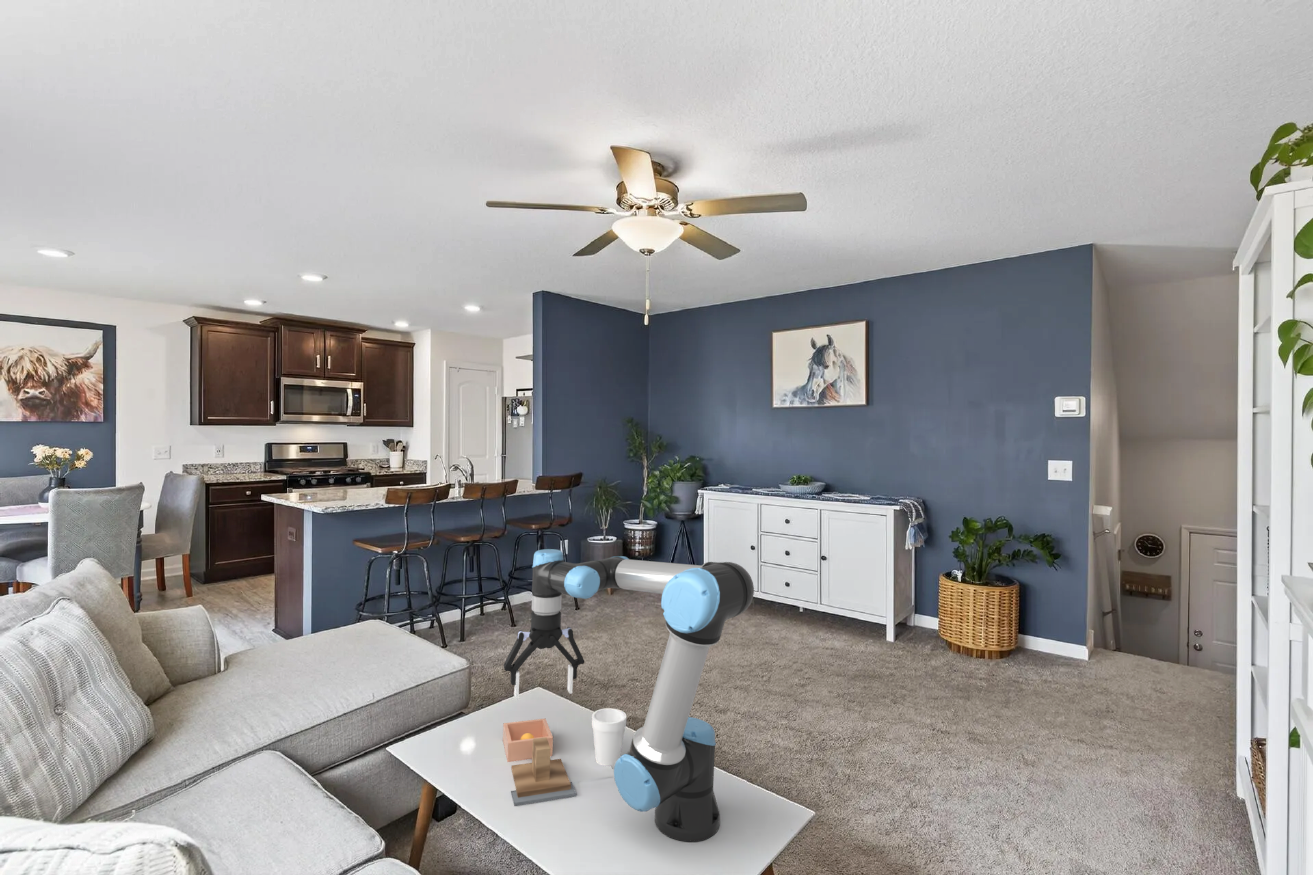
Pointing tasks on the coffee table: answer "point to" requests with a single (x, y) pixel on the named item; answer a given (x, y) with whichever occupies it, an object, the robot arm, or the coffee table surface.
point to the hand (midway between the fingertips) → (543, 694)
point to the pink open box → (524, 747)
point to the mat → (543, 796)
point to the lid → (540, 772)
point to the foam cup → (608, 735)
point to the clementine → (527, 736)
